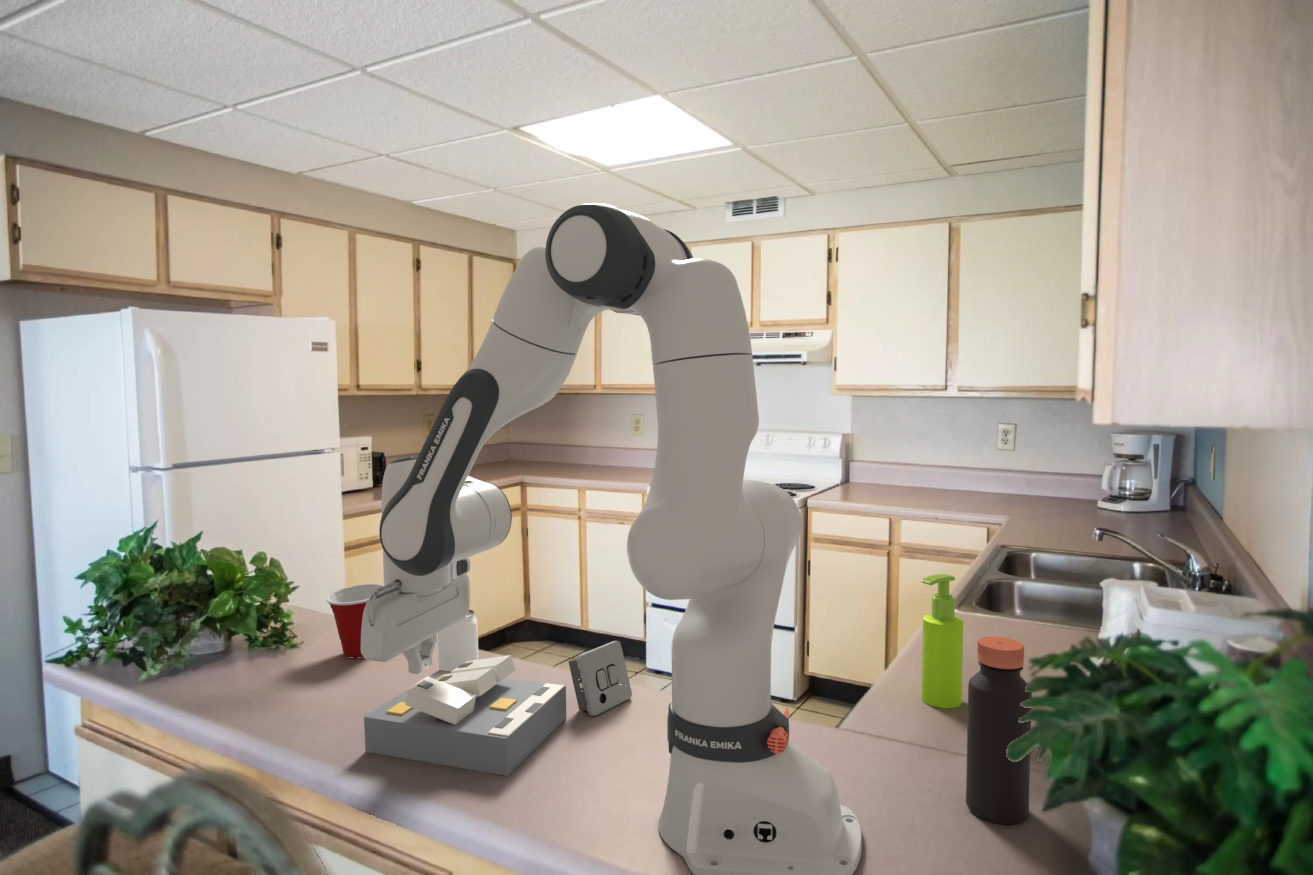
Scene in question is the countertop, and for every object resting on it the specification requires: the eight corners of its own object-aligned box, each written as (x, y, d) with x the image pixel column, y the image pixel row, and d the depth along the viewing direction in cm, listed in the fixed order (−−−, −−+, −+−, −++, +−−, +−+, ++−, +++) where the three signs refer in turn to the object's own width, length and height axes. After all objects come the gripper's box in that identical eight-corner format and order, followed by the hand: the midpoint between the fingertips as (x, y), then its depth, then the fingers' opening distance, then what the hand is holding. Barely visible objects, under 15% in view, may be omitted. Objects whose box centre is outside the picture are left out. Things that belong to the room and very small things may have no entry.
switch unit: (566, 717, 117) (565, 680, 116) (507, 775, 100) (506, 733, 99) (440, 700, 124) (439, 665, 123) (365, 751, 107) (363, 711, 106)
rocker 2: (496, 683, 112) (492, 666, 112) (480, 696, 108) (476, 678, 108) (450, 689, 115) (446, 673, 115) (432, 701, 111) (428, 684, 111)
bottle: (959, 814, 90) (963, 646, 88) (972, 788, 96) (975, 630, 94) (1023, 832, 86) (1028, 657, 85) (1033, 804, 92) (1037, 639, 90)
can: (470, 691, 127) (467, 620, 126) (432, 689, 128) (430, 618, 127) (484, 676, 133) (482, 608, 132) (449, 674, 134) (447, 607, 134)
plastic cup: (316, 655, 144) (313, 592, 144) (368, 640, 153) (366, 580, 152) (349, 668, 138) (346, 602, 137) (401, 651, 146) (399, 588, 146)
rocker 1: (473, 710, 108) (476, 694, 107) (455, 724, 103) (458, 707, 103) (424, 691, 110) (427, 675, 109) (405, 704, 106) (408, 687, 105)
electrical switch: (593, 719, 116) (587, 657, 116) (568, 713, 120) (563, 653, 120) (633, 698, 124) (628, 641, 124) (609, 693, 127) (604, 637, 127)
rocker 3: (514, 670, 118) (511, 653, 118) (500, 681, 113) (496, 664, 113) (470, 676, 120) (466, 660, 120) (454, 687, 116) (450, 670, 116)
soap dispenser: (908, 698, 122) (910, 574, 121) (940, 690, 125) (942, 568, 124) (937, 712, 117) (940, 583, 116) (969, 703, 120) (972, 577, 119)
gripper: (388, 594, 95) (391, 703, 96) (476, 557, 115) (478, 648, 116) (346, 590, 97) (349, 696, 98) (440, 554, 117) (442, 643, 118)
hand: (420, 670), depth 107 cm, fingers closed
